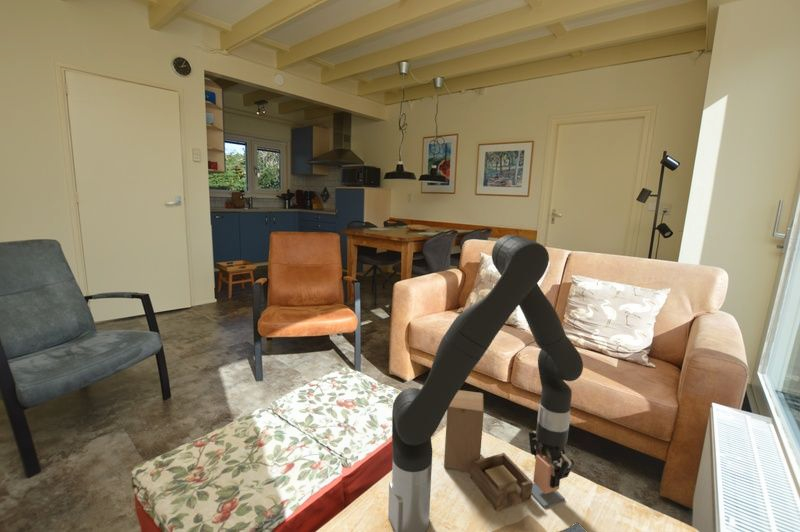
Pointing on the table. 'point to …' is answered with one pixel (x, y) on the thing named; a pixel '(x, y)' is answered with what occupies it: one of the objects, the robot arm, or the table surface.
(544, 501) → the pad
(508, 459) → the crate
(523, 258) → the robot arm
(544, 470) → the block
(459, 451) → the wooden block
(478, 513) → the table surface
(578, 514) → the table surface
